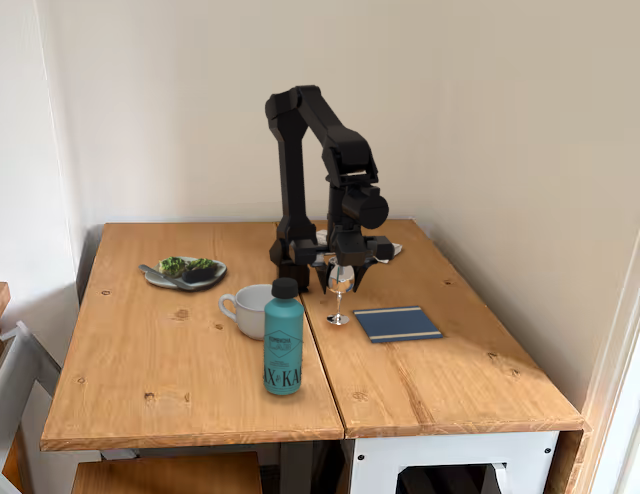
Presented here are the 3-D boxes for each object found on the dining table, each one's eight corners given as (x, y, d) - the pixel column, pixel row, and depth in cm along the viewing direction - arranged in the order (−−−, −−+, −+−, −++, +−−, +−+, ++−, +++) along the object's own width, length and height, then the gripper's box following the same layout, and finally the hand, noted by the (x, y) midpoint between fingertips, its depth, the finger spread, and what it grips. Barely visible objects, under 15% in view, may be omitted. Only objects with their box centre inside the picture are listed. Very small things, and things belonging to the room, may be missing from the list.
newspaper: (301, 247, 178) (301, 237, 177) (324, 238, 188) (325, 228, 186) (384, 264, 168) (385, 254, 167) (404, 254, 177) (405, 244, 176)
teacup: (298, 326, 140) (299, 288, 136) (280, 350, 131) (281, 310, 127) (232, 315, 144) (231, 278, 140) (211, 338, 135) (209, 299, 131)
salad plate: (121, 286, 156) (119, 266, 154) (159, 258, 170) (158, 240, 168) (202, 299, 151) (201, 278, 148) (234, 269, 165) (234, 250, 163)
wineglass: (350, 327, 136) (355, 267, 129) (320, 324, 137) (323, 265, 130) (354, 314, 140) (358, 256, 134) (325, 311, 141) (328, 253, 135)
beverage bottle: (261, 383, 121) (261, 273, 111) (300, 382, 122) (303, 272, 111) (264, 404, 116) (263, 289, 105) (304, 402, 116) (308, 288, 106)
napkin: (372, 343, 134) (372, 341, 134) (352, 311, 146) (352, 310, 146) (442, 337, 137) (443, 335, 136) (417, 307, 148) (418, 305, 148)
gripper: (302, 229, 119) (299, 314, 127) (409, 224, 122) (399, 307, 130) (289, 209, 128) (287, 289, 137) (389, 204, 131) (381, 283, 140)
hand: (339, 293), depth 136 cm, fingers closed on wineglass, 5 cm apart
